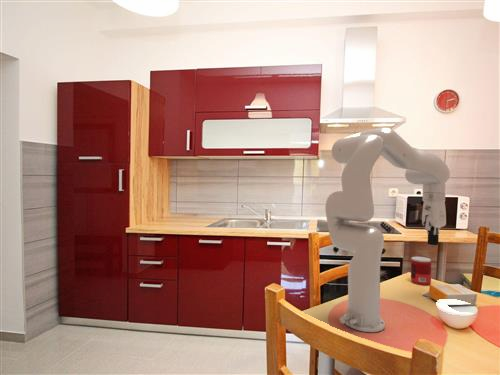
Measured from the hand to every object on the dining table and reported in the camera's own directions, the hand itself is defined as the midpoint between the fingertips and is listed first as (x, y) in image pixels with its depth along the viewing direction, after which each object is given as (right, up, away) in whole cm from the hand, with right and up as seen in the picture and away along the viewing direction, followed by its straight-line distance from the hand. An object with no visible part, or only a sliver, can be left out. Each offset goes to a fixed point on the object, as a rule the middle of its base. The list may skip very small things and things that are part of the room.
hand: (433, 244), depth 116 cm
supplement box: (-1, -18, -4) cm, 19 cm away
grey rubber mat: (+5, -21, +3) cm, 22 cm away
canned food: (+6, -21, +19) cm, 29 cm away
